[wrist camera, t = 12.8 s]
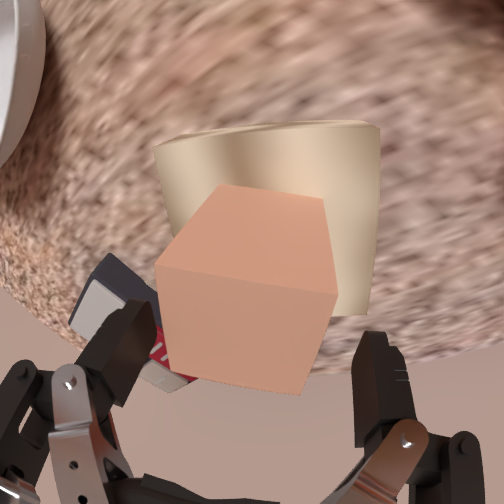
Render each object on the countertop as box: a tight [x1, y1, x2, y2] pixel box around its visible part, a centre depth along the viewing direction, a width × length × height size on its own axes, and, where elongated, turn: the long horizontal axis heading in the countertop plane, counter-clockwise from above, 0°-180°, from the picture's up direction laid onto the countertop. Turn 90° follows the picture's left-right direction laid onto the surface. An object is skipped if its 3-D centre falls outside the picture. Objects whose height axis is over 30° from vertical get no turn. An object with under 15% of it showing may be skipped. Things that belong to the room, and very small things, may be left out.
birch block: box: [153, 120, 380, 316], centre depth 19 cm, size 12×12×5 cm
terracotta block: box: [154, 184, 339, 395], centre depth 13 cm, size 6×6×8 cm
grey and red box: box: [68, 253, 198, 393], centre depth 28 cm, size 11×4×15 cm
